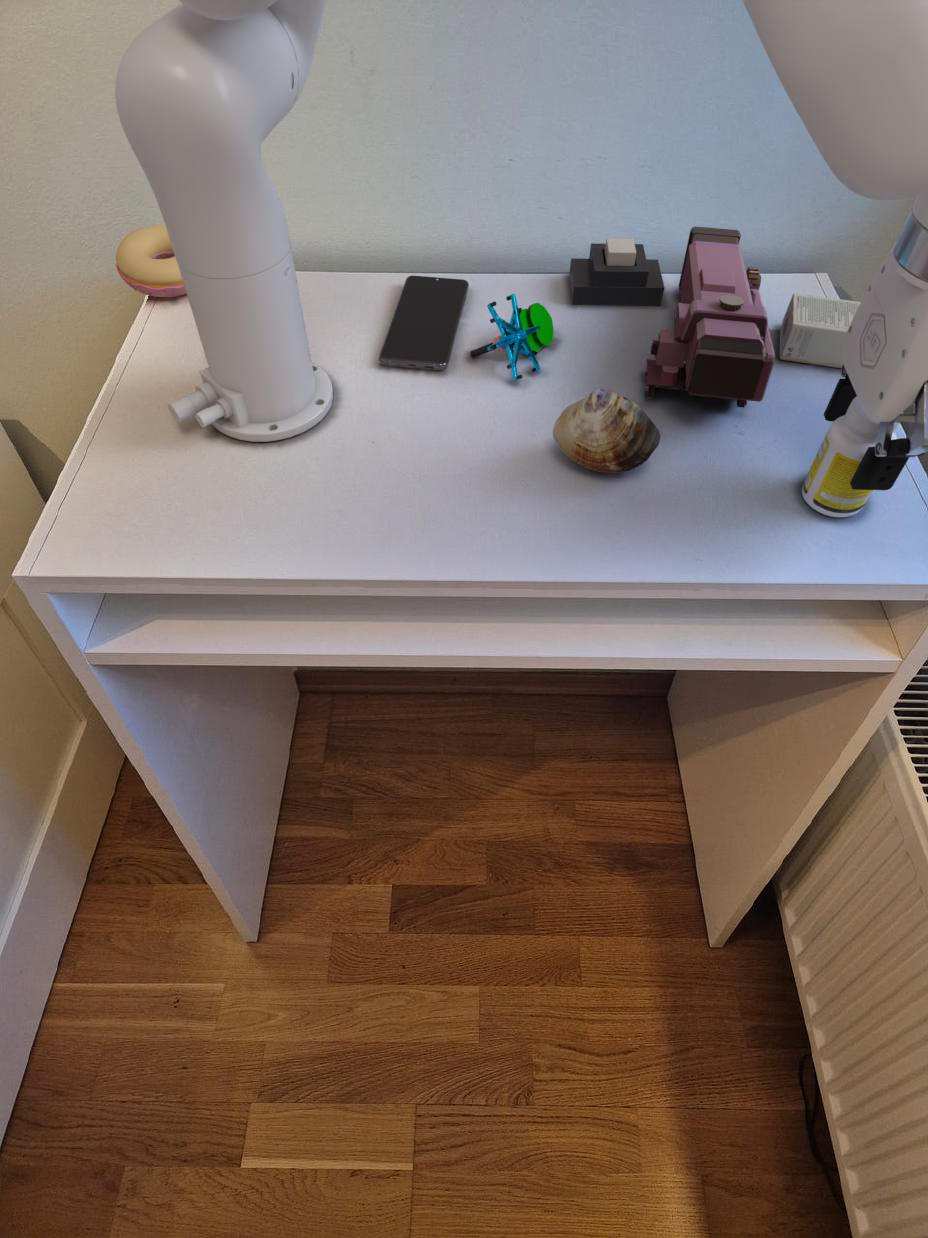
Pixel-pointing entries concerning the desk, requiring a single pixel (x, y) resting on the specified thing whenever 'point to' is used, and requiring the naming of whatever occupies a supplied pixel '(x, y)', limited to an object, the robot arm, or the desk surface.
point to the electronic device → (715, 325)
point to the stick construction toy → (520, 334)
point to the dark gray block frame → (615, 280)
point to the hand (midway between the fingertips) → (855, 451)
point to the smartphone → (425, 323)
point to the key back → (620, 252)
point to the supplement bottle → (841, 464)
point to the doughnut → (150, 263)
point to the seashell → (606, 433)
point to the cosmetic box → (815, 329)
